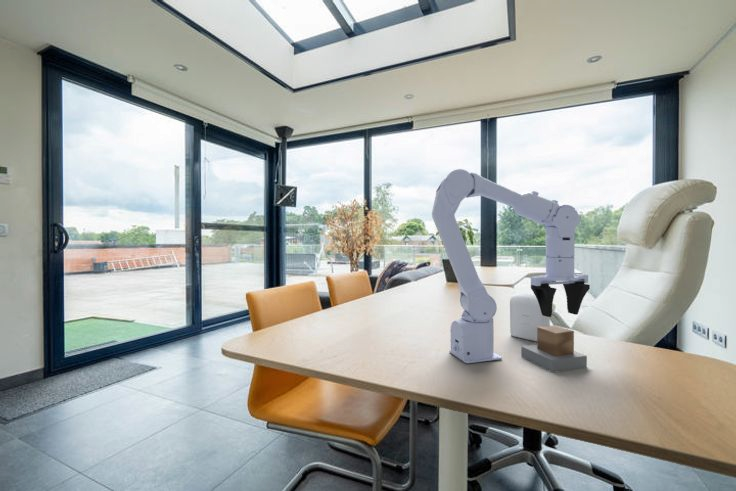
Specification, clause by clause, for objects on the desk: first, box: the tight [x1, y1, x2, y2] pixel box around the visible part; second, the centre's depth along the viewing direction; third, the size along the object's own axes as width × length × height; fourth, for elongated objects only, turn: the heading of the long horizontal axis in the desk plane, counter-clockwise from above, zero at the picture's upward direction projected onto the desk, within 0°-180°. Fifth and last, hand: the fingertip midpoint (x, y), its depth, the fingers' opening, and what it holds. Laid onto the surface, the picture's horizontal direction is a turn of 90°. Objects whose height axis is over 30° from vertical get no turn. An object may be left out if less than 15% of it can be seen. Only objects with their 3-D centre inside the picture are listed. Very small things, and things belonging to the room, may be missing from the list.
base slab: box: [520, 344, 588, 373], centre depth 71 cm, size 9×9×3 cm
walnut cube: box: [536, 325, 575, 356], centre depth 71 cm, size 5×5×5 cm
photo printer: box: [509, 293, 551, 342], centre depth 87 cm, size 10×4×12 cm, turn 39°
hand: (559, 314), depth 74 cm, fingers open, 7 cm apart
